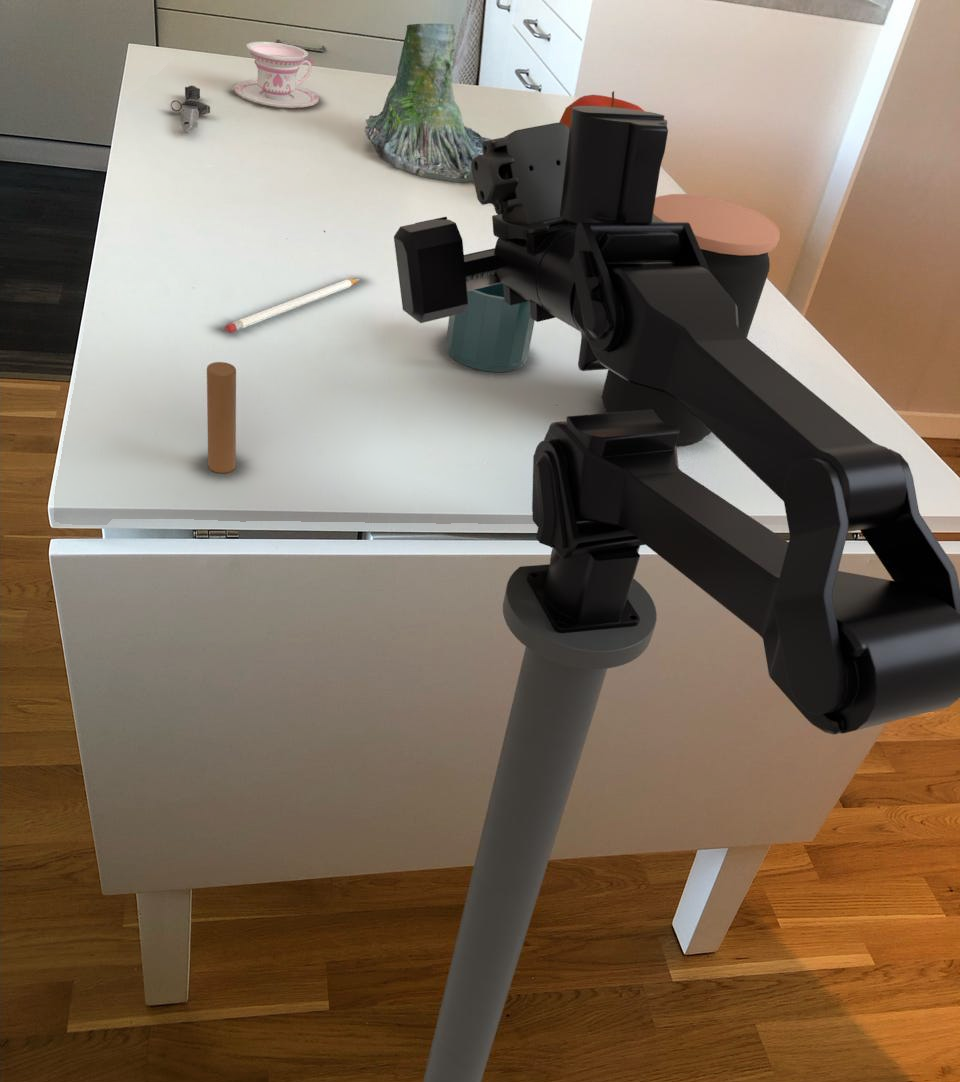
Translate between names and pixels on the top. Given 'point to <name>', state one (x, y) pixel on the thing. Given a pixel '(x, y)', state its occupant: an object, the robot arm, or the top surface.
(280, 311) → the pencil
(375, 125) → the tree stump
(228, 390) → the tan wooden dowel
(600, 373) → the top surface
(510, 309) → the teal cup
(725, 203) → the coffee jar
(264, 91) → the teacup
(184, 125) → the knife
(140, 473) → the top surface
